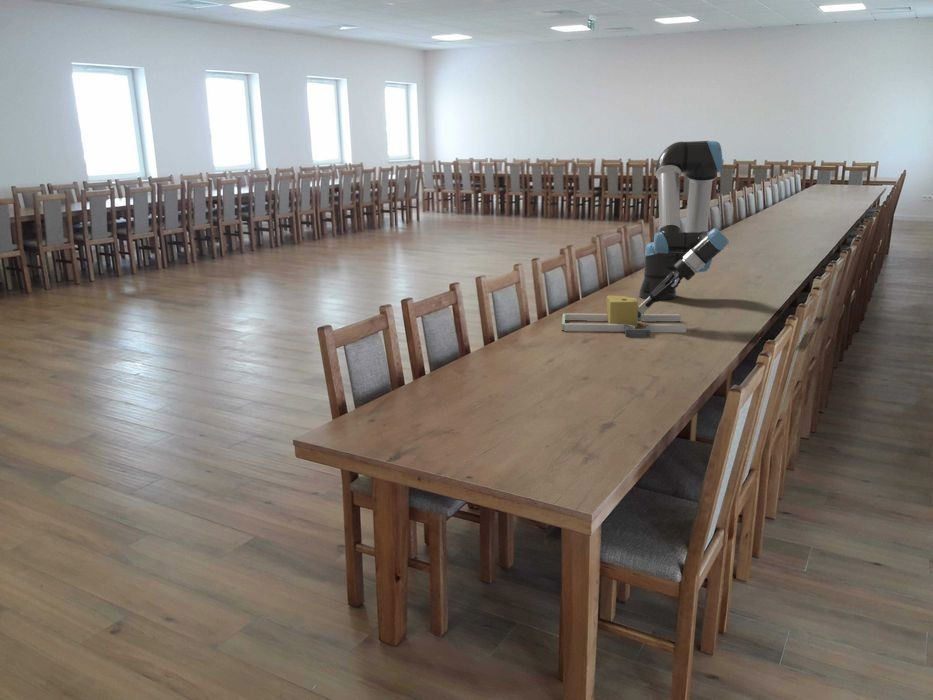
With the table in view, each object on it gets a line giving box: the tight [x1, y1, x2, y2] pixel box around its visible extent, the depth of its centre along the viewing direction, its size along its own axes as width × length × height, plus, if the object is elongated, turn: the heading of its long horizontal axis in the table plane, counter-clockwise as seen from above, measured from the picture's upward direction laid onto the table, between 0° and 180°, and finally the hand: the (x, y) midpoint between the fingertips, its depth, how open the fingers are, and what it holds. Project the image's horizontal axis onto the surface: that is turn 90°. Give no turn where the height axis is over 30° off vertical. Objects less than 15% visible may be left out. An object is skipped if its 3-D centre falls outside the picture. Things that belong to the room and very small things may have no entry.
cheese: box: [606, 295, 639, 329], centre depth 272 cm, size 10×11×10 cm
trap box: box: [561, 311, 687, 338], centre depth 273 cm, size 29×43×2 cm
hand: (639, 311), depth 273 cm, fingers closed
